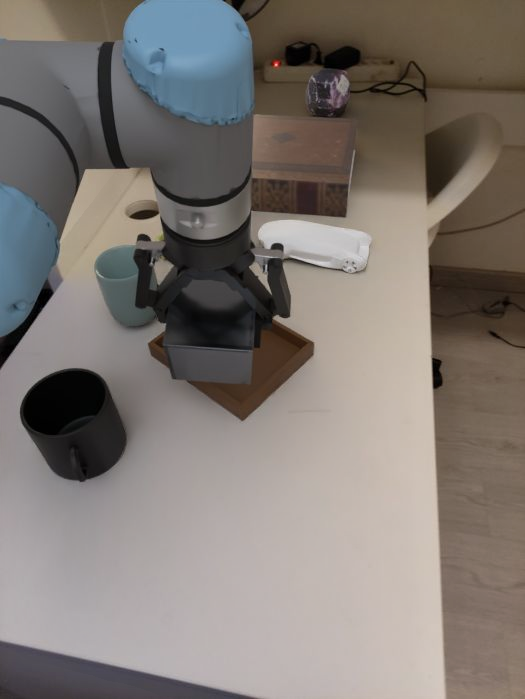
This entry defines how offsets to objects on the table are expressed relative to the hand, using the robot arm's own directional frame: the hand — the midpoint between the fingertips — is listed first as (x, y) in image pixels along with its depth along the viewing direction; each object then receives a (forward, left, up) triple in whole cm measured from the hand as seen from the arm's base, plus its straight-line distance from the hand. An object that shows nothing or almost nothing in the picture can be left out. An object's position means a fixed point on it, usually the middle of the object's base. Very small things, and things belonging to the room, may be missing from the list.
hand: (216, 334), depth 64 cm
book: (-27, +44, -9) cm, 52 cm away
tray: (-2, +4, -9) cm, 10 cm away
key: (-25, +18, -9) cm, 32 cm away
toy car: (-7, +29, -9) cm, 31 cm away
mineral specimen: (-36, +72, -9) cm, 81 cm away
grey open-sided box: (+5, -5, +2) cm, 7 cm away
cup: (-18, +1, -9) cm, 20 cm away
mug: (-4, -18, -9) cm, 21 cm away
